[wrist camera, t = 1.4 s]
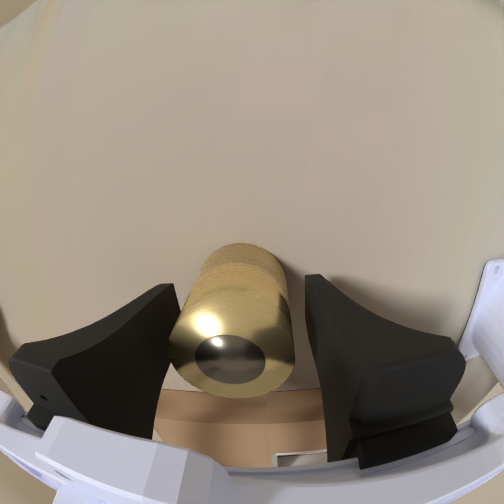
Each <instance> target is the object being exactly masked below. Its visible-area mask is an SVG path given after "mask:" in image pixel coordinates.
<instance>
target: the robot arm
mask: <svg viewBox="0 0 504 504" xmlns="http://www.w3.org/2000/svg"><path fill="white" fill-rule="evenodd" d="M180 313H181V311H180V307H179V304H178V300H177V296H176V292H175V288H174V284H173V283H169V284H159V285H157V286H155V287H153V288H152V289H150V290H148V291H147V292H145V293H144V294H142V295H141V296H139V297H138V298H136V299H135V300H133V301H131V302H130V303H128V304H127V305H125V306H124V307H122V308H120V309H119V310H117V311H115V312H114V313H112V314H110V315H109V316H107V317H105V318H103V319H101V320H99V321H97V322H95V323H93V324H91V325H89V326H86V327H84V328H81V329H79V330H76V331H74V332H71V333H68V334H65V335H62V336H58V337H55V338H51V339H47V340H42V341H37V342H31V343H25V344H23V345H22V346H21V347H20V348H19V349H18V350H17V351H16V352H15V353H14V355H13V356H12V357H11V358H10V360H9V366H10V370H11V372H12V374H13V376H14V377H15V379H16V380H17V382H18V383H19V385H20V386H21V387H22V389H23V390H24V391H25V393H26V394H27V395H28V397H29V398H30V399H31V400H32V402H33V403H34V404H33V406H32V408H31V409H30V411H29V412H28V413H27V412H25V410H24V409H23V407H22V406H21V405H20V404H19V403H18V402H17V401H16V400H15V399H14V398H13V397H12V396H10V395H8V394H6V393H5V392H3V391H0V450H1V451H2V452H3V453H4V454H5V455H6V456H7V457H9V458H10V459H11V460H12V461H13V462H15V463H16V464H17V465H19V466H20V467H21V468H23V469H24V470H26V471H27V472H29V473H30V474H32V475H33V476H34V477H36V478H37V479H39V480H40V481H42V482H43V483H45V484H47V485H48V486H50V487H51V488H53V489H55V490H56V491H57V493H56V496H55V498H54V501H53V503H52V504H448V503H450V502H452V501H454V500H456V499H457V498H459V497H461V496H463V495H465V494H467V493H468V492H470V491H472V490H473V489H475V488H477V487H478V486H480V485H482V484H483V483H485V482H486V481H488V480H489V479H491V478H492V477H494V476H495V475H496V474H498V473H499V472H500V471H502V470H503V469H504V392H503V393H501V394H499V395H498V396H496V397H494V398H492V399H490V400H488V401H487V402H485V403H484V404H482V405H481V406H480V407H479V408H478V409H477V410H476V411H475V413H474V414H473V416H472V417H471V419H470V420H468V421H466V422H464V423H462V424H460V425H458V426H456V424H455V422H454V420H453V418H452V416H451V414H450V412H452V410H453V405H452V403H451V401H450V398H451V396H452V394H453V393H454V391H455V389H456V388H457V386H458V384H459V382H460V381H461V378H462V376H463V374H464V371H465V366H466V361H467V360H469V359H472V358H475V357H477V356H480V355H481V357H482V358H483V359H484V361H485V362H486V364H487V365H488V367H489V368H490V369H491V371H492V372H493V374H494V375H495V377H496V378H497V380H498V381H499V383H500V385H501V386H502V388H503V389H504V259H498V260H492V261H489V262H488V263H487V264H486V265H485V267H484V270H483V274H482V278H481V282H480V286H479V289H478V293H477V296H476V299H475V303H474V306H473V309H472V312H471V315H470V318H469V320H468V323H467V326H466V329H465V331H464V334H463V336H462V339H461V341H460V344H459V346H458V347H457V346H456V345H455V343H454V342H453V340H452V339H451V338H450V337H445V336H440V335H434V334H429V333H424V332H421V331H417V330H414V329H410V328H407V327H404V326H401V325H399V324H396V323H394V322H391V321H389V320H386V319H384V318H382V317H380V316H378V315H376V314H374V313H372V312H371V311H369V310H367V309H365V308H363V307H362V306H360V305H359V304H357V303H356V302H354V301H353V300H351V299H350V298H349V297H347V296H346V295H345V294H343V293H342V292H341V291H339V290H338V289H337V288H336V287H335V286H333V285H332V284H331V283H330V282H329V281H328V280H326V279H325V278H324V277H323V276H322V275H321V274H313V275H305V318H306V325H307V333H308V338H309V342H310V346H311V349H312V353H313V357H314V361H315V364H316V368H317V372H318V376H319V381H320V385H321V393H322V401H323V410H324V420H325V431H326V444H327V463H321V464H312V465H302V466H289V467H265V468H247V467H223V466H221V465H220V464H219V463H217V462H216V461H215V460H214V459H212V458H211V457H209V456H206V455H204V454H201V453H199V452H196V451H194V450H191V449H189V448H185V447H181V446H177V445H172V444H168V443H165V442H161V441H155V440H152V435H153V428H154V421H155V415H156V410H157V405H158V400H159V396H160V392H161V388H162V384H163V381H164V378H165V376H166V373H167V371H168V368H169V366H170V363H171V361H170V358H169V354H168V341H169V337H170V335H171V332H172V330H173V328H174V326H175V324H176V322H177V319H178V317H179V315H180Z"/></svg>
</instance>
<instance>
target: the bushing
mask: <svg viewBox="0 0 504 504" xmlns="http://www.w3.org/2000/svg"><path fill="white" fill-rule="evenodd" d="M168 354H169V358H170V361H171V363H172V365H173V366H174V368H175V369H176V371H177V372H178V373H179V374H180V376H182V377H183V378H184V379H185V380H186V381H187V382H189V383H190V384H191V385H193V386H195V387H196V388H198V389H200V390H202V391H205V392H207V393H210V394H213V395H216V396H221V397H227V398H250V397H256V396H260V395H263V394H266V393H268V392H271V391H273V390H274V389H276V388H278V387H279V386H280V385H282V384H283V383H284V382H285V381H286V380H287V379H288V377H289V376H290V374H291V372H292V370H293V368H294V364H295V353H294V343H293V334H292V326H291V317H290V308H289V300H288V292H287V284H286V276H285V273H284V270H283V267H282V265H281V264H280V262H279V261H278V260H277V259H276V257H275V256H273V255H272V254H271V253H270V252H268V251H267V250H265V249H263V248H261V247H259V246H256V245H252V244H246V243H236V244H230V245H226V246H224V247H221V248H219V249H218V250H216V251H215V252H213V253H212V254H211V255H210V256H209V257H208V258H207V260H206V261H205V263H204V265H203V267H202V269H201V271H200V273H199V275H198V277H197V279H196V281H195V283H194V285H193V287H192V290H191V292H190V294H189V296H188V298H187V300H186V302H185V304H184V306H183V309H182V311H181V313H180V315H179V317H178V319H177V322H176V324H175V326H174V328H173V330H172V332H171V335H170V337H169V341H168Z"/></svg>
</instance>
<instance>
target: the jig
mask: <svg viewBox="0 0 504 504" xmlns="http://www.w3.org/2000/svg"><path fill="white" fill-rule="evenodd" d="M154 429H155V430H156V432H157V433H158V434H159V436H160V437H161V438H162V440H163V441H164V442H165V443H168V444H172V445H177V446H181V447H185V448H189V449H191V450H194V451H196V452H199V453H201V454H204V455H206V456H209V457H211V458H212V459H214V460H215V461H216V462H217V463H219V464H220V465H221V466H223V467H247V468H265V467H289V466H302V465H312V464H321V463H327V452H326V453H318V454H309V455H298V456H284V457H279V456H278V455H294V454H305V453H315V452H323V451H327V444H326V431H325V420H324V410H323V401H322V393H321V388H317V389H307V390H295V391H281V392H268V393H266V394H263V395H260V396H256V397H250V398H227V397H221V396H216V395H213V394H210V393H207V392H191V391H177V390H166V389H161V392H160V396H159V400H158V405H157V410H156V415H155V421H154Z"/></svg>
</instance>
